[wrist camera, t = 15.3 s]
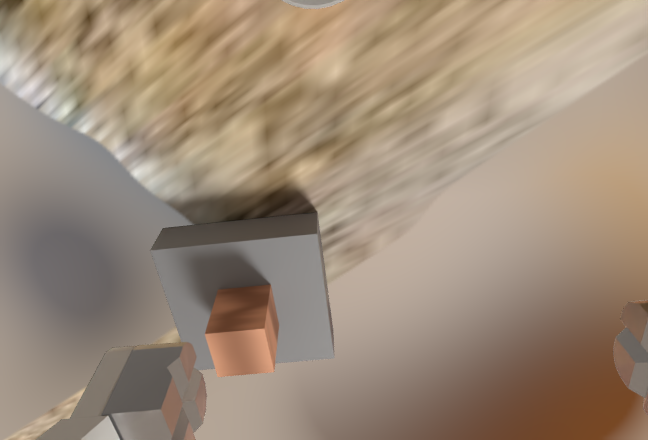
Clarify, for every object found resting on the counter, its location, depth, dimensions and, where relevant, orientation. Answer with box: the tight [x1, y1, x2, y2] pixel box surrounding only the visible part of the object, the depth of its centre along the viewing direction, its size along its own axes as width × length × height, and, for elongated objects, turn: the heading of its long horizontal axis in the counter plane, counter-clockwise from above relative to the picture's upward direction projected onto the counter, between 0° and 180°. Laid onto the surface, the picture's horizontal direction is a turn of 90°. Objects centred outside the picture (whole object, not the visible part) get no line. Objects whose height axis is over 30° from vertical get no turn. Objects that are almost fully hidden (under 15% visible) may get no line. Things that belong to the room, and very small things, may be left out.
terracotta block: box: [205, 285, 279, 377], centre depth 43 cm, size 5×5×6 cm
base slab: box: [150, 212, 334, 370], centre depth 47 cm, size 15×15×4 cm
